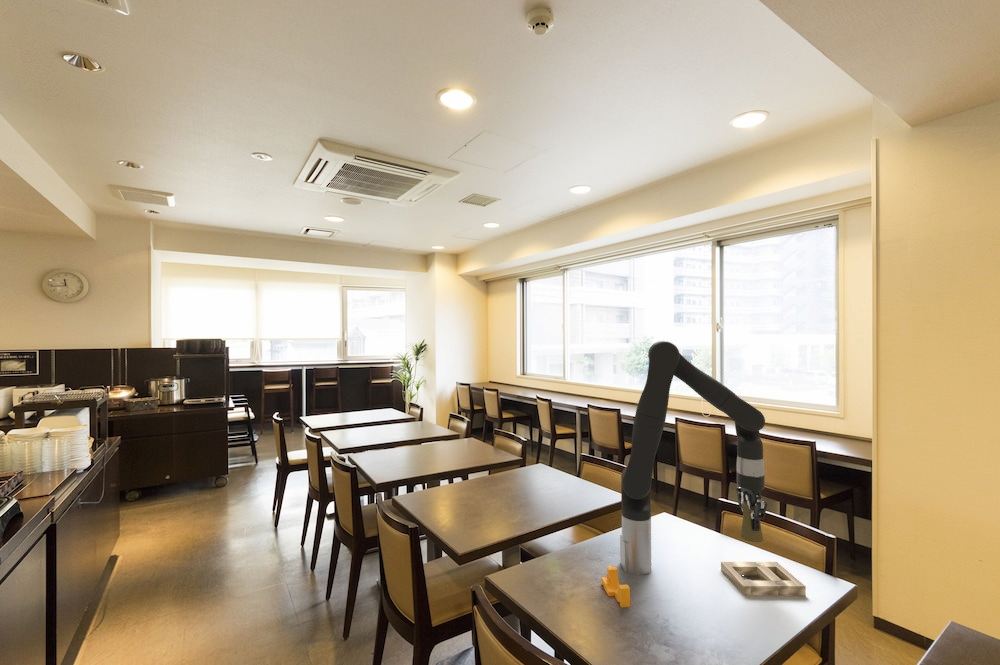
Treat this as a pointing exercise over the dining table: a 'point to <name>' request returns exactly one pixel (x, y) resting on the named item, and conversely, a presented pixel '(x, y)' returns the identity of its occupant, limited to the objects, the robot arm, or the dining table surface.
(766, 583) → the socket block
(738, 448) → the robot arm
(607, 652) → the dining table surface
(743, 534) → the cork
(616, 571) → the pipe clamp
